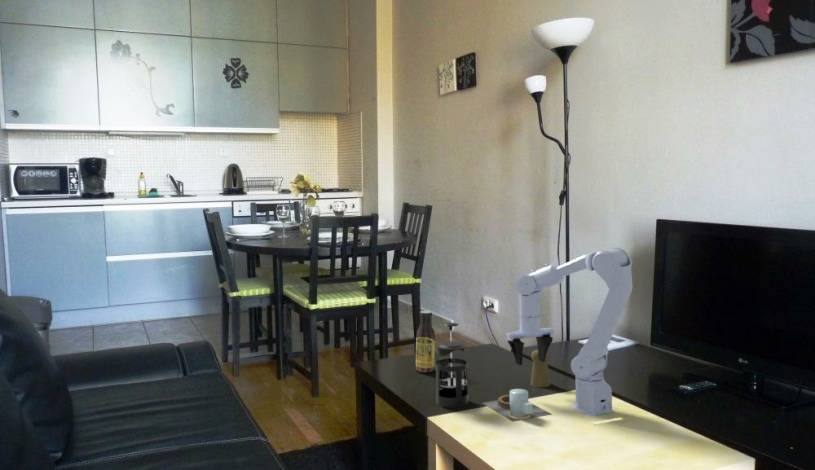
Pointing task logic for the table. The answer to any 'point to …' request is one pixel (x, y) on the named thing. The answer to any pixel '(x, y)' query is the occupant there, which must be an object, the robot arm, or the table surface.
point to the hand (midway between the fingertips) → (530, 362)
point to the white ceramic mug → (519, 403)
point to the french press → (451, 387)
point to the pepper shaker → (539, 371)
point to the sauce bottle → (425, 344)
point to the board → (504, 409)
